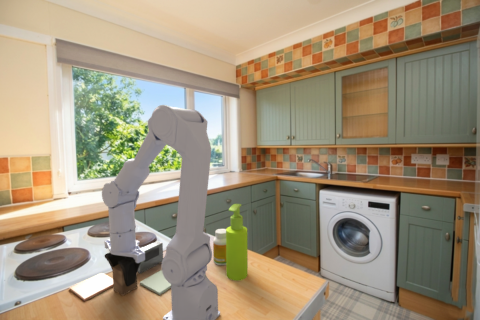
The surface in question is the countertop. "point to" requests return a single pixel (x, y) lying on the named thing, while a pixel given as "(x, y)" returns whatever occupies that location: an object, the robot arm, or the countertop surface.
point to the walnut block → (121, 281)
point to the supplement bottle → (219, 247)
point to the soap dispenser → (236, 246)
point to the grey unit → (151, 256)
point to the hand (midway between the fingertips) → (125, 281)
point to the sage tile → (156, 283)
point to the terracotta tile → (92, 286)
